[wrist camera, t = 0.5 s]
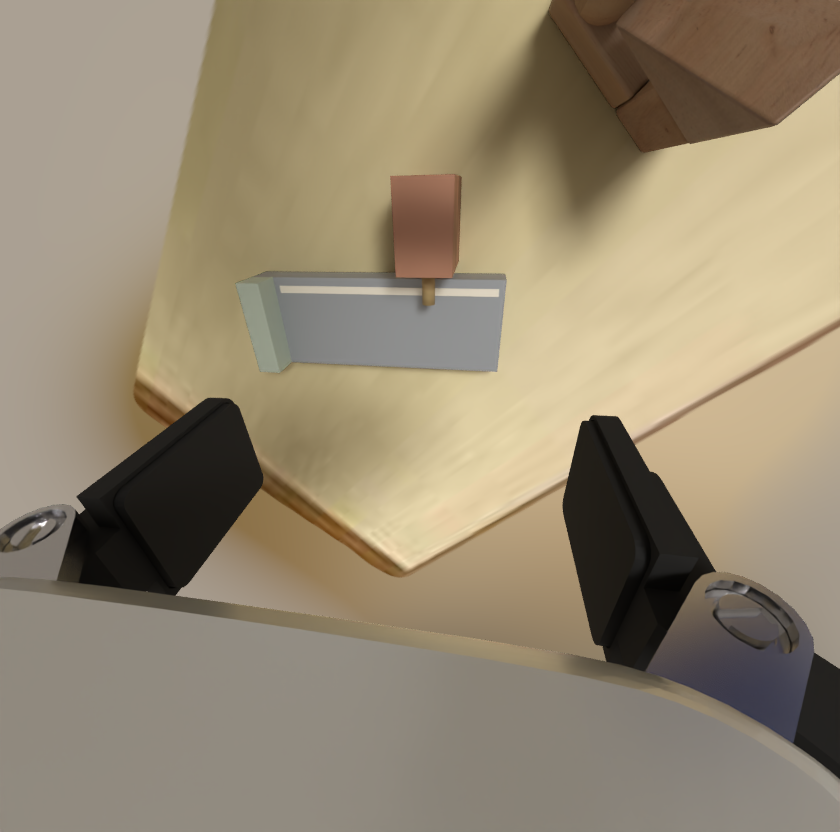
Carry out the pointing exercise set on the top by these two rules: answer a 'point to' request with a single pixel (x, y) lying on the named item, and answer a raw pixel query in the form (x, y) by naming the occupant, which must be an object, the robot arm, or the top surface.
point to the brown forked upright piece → (702, 61)
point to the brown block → (426, 228)
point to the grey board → (373, 320)
